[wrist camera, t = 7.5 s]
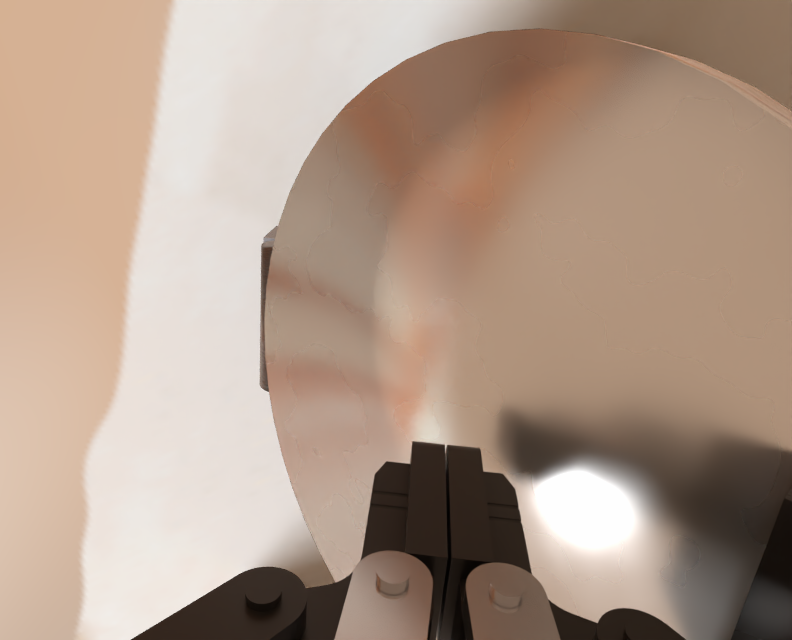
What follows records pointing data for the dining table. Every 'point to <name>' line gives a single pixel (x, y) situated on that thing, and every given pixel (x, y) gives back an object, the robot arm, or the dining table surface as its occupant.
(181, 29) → the dining table surface
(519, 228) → the lid
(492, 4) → the dining table surface
